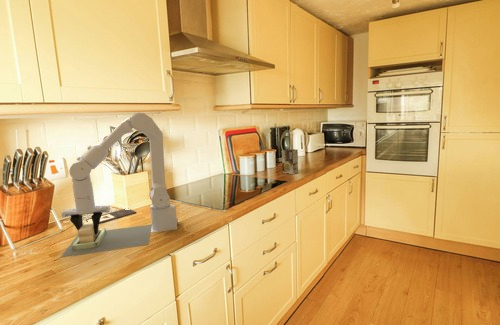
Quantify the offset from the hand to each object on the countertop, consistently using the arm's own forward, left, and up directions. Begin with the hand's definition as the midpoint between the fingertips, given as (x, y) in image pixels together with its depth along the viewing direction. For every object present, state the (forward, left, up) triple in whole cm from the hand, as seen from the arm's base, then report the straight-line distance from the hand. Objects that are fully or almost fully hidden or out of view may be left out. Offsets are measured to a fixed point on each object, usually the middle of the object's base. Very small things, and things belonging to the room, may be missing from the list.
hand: (89, 234), depth 102 cm
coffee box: (-106, -77, -3) cm, 131 cm away
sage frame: (0, 0, -3) cm, 3 cm away
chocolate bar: (-2, -26, -4) cm, 26 cm away
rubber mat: (-7, +1, -3) cm, 8 cm away
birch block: (0, 0, -1) cm, 1 cm away
